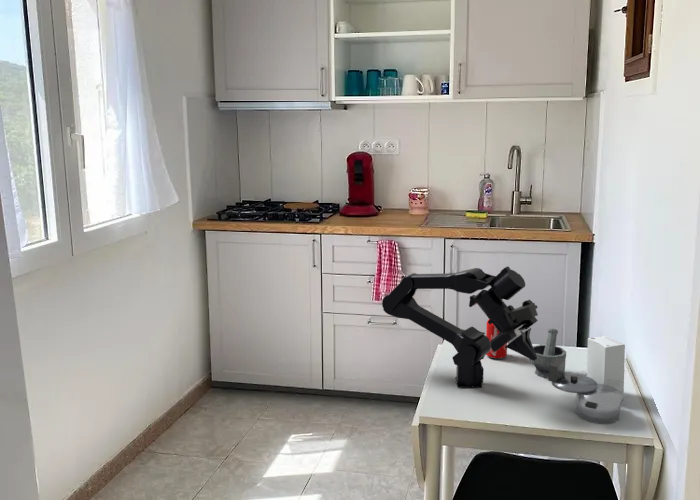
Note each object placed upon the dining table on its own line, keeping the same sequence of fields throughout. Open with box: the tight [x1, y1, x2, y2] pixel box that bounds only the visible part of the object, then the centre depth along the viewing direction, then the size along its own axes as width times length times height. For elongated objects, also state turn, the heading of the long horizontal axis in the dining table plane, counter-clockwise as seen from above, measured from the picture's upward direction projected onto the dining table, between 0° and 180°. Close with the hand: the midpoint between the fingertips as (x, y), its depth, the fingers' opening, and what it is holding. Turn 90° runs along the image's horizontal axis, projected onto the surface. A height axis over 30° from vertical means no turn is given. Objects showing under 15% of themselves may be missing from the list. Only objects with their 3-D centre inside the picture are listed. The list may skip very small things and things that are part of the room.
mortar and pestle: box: [529, 328, 567, 379], centre depth 190 cm, size 11×9×12 cm
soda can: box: [485, 319, 508, 360], centre depth 204 cm, size 6×6×12 cm
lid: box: [548, 358, 597, 394], centre depth 167 cm, size 11×11×5 cm
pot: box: [575, 383, 622, 425], centre depth 165 cm, size 10×13×6 cm
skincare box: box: [586, 335, 626, 401], centre depth 175 cm, size 8×6×15 cm
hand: (535, 359), depth 172 cm, fingers closed
